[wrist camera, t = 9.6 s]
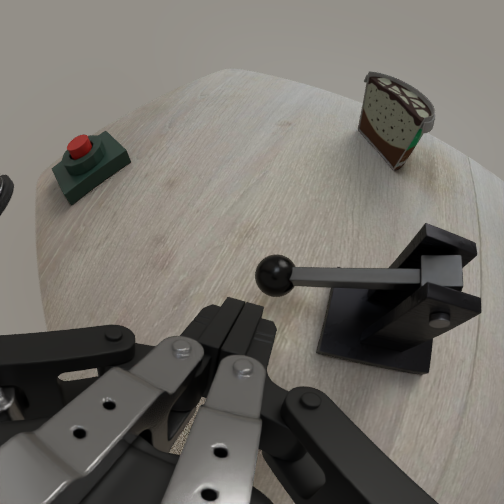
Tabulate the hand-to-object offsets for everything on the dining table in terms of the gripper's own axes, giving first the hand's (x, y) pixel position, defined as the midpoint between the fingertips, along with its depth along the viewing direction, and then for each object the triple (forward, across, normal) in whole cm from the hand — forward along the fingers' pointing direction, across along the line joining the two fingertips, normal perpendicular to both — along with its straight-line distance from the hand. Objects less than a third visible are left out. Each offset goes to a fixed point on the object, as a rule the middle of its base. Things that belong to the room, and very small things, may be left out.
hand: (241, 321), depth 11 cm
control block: (+20, +28, -3) cm, 35 cm away
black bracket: (+13, -11, +4) cm, 18 cm away
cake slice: (+32, -12, -14) cm, 38 cm away
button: (+18, +28, -5) cm, 33 cm away
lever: (+9, -7, 0) cm, 11 cm away
